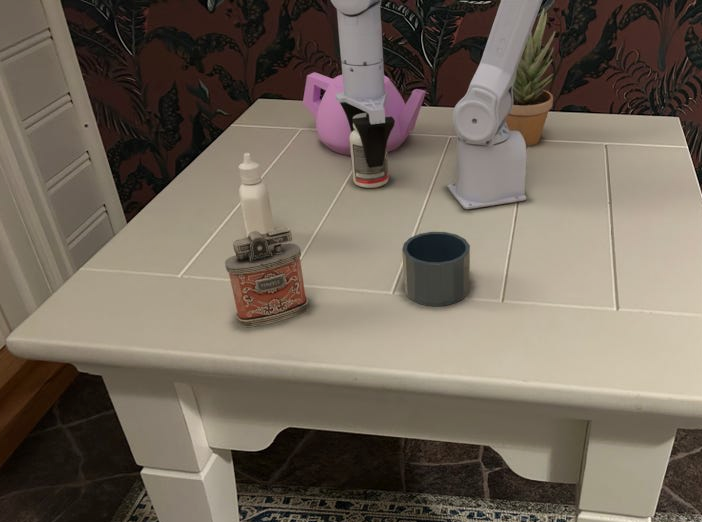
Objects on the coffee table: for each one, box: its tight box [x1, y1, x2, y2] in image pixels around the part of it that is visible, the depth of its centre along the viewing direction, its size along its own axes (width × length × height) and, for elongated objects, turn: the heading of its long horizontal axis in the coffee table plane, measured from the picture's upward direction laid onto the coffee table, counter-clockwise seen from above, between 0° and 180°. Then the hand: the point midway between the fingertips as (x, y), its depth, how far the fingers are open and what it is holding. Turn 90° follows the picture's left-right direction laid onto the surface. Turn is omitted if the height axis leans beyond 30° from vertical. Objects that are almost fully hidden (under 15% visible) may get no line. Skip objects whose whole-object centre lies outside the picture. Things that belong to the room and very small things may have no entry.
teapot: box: [302, 71, 427, 156], centre depth 119 cm, size 22×16×12 cm
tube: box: [401, 231, 471, 307], centre depth 85 cm, size 8×8×6 cm
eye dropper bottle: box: [238, 152, 275, 238], centre depth 92 cm, size 4×6×12 cm
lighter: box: [224, 227, 310, 328], centre depth 79 cm, size 8×3×10 cm, turn 118°
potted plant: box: [505, 7, 556, 147], centre depth 116 cm, size 10×10×25 cm
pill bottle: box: [349, 113, 390, 189], centre depth 107 cm, size 5×5×10 cm
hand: (368, 156), depth 108 cm, fingers open, 7 cm apart
